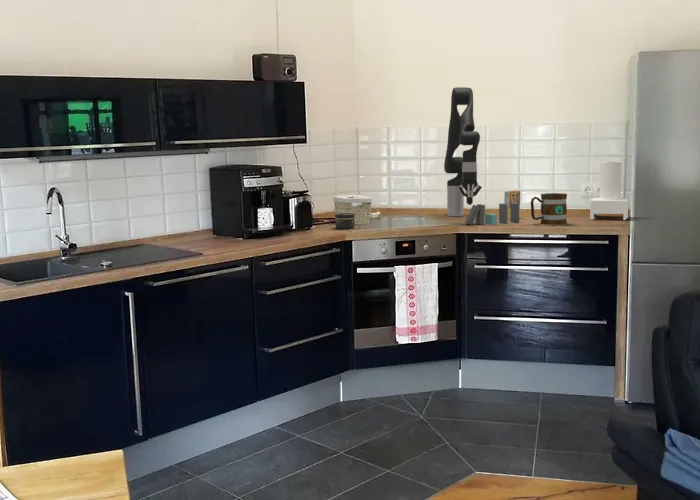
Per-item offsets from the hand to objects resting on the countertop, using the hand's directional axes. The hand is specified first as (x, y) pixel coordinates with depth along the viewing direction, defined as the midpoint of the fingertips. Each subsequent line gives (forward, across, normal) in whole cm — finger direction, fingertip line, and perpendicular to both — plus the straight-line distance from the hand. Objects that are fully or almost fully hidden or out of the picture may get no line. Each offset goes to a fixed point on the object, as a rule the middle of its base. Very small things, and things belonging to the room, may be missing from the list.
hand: (469, 204), depth 412 cm
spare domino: (+8, -12, +5) cm, 15 cm away
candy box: (+11, -31, -17) cm, 37 cm away
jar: (+11, +64, -9) cm, 65 cm away
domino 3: (+10, -18, 0) cm, 21 cm away
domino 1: (+10, +1, 0) cm, 10 cm away
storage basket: (+11, +54, -34) cm, 65 cm away
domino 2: (+10, -6, 0) cm, 12 cm away
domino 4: (+10, -25, 0) cm, 27 cm away
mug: (+10, -38, +12) cm, 41 cm away
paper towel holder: (+11, -80, 0) cm, 81 cm away
